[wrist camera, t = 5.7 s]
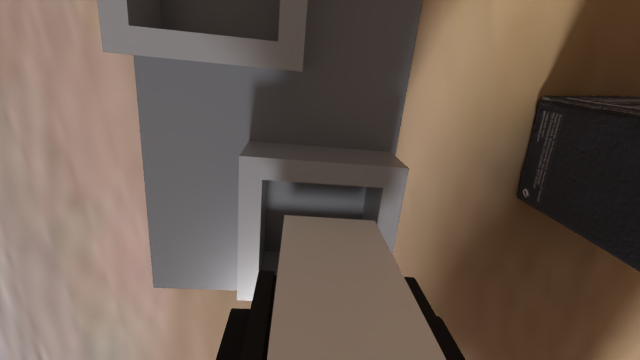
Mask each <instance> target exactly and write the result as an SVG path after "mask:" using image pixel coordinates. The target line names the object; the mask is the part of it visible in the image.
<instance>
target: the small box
mask: <svg viewBox="0 0 640 360" xmlns="http://www.w3.org/2000/svg"><path fill="white" fill-rule="evenodd" d="M517 197H518V199H520V200H522V201H524V202H525V203H527V204H529V205H530V206H532V207H534V208H535V209H537V210H539V211H541V212H542V213H544V214H546V215H547V216H549V217H551V218H552V219H554V220H556V221H557V222H559V223H561V224H562V225H564V226H566V227H567V228H569V229H570V230H572V231H574V232H576V233H577V234H579V235H581V236H582V237H584V238H585V239H587V240H589V241H590V242H592V243H594V244H596V245H597V246H599V247H600V248H602V249H604V250H605V251H607V252H609V253H610V254H612V255H613V256H615V257H617V258H618V259H620V260H622V261H623V262H625V263H627V264H628V265H630V266H631V267H633V268H635V269H636V270H638V271H640V97H620V96H543V97H542V98H541V99H540V102H539V106H538V108H537V113H536V120H535V124H534V128H533V133H532V137H531V141H530V145H529V149H528V153H527V157H526V161H525V165H524V169H523V170H522V175H521V181H520V185H519V190H518V196H517Z"/></svg>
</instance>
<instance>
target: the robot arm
mask: <svg viewBox="0 0 640 360" xmlns="http://www.w3.org/2000/svg"><path fill="white" fill-rule="evenodd" d="M274 272H275V271H268V270H259V272H258V277H257V281H256V286H255V291H254V295H253V300H252V304H251V309H235V308H232V309H231V312H230V315H229V318H228V321H227V324H226V328H225V331H224V334H223V338H222V341H221V344H220V348H219V351H218V354H217V358H216V360H267V355H268V347H269V338H270V330H271V322H272V314H273V305H274V297H275V289H276V281H277V275H274ZM404 278H405V280H406V282H407V284H408V286H409V288H410V290H411V292H412V294H413V296H414V298H415V300H416V302H417V304H418V305H419V307H420V309H421V311H422V313H423V315H424V317H425V319H426V321H427V323H428V325H429V327H430V329H431V331H432V333H433V335H434V337H435V339H436V341H437V342H438V344H439V346H440V348H441V350H442V352H443V354H444V356H445V358H446V360H465V358H464V356H463V355H462V353H461V351H460V350H459V348H458V346H457V344H456V343H455V341H454V339H453V337H452V336H451V334H450V332H449V331H448V329H447V327H446V325H445V324H444V322H443V320H442V319H441V318H440V317H438V316H436V315H435V313H434V311H433V310H432V308H431V306H430V304H429V302H428V301H427V299H426V297H425V295H424V294H423V292H422V290H421V288H420V286H419V285H418V283H417V281H416V279H415V278H413V277H404Z"/></svg>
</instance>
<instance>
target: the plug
mask: <svg viewBox="0 0 640 360" xmlns="http://www.w3.org/2000/svg"><path fill="white" fill-rule="evenodd" d="M267 360H446V358H445V356H444V354H443V352H442V350H441V348H440V346H439V344H438V342H437V341H436V339H435V337H434V335H433V333H432V331H431V329H430V327H429V325H428V323H427V321H426V319H425V317H424V315H423V313H422V311H421V309H420V307H419V305H418V304H417V302H416V300H415V298H414V296H413V294H412V292H411V290H410V288H409V286H408V284H407V282H406V280H405V278H404V276H403V274H402V272H401V270H400V268H399V267H398V265H397V263H396V261H395V259H394V257H393V255H392V253H391V251H390V249H389V247H388V245H387V243H386V241H385V239H384V237H383V235H382V233H381V231H380V229H379V228H378V226H377V224H376V222H375V221H372V220H356V219H340V218H324V217H308V216H292V215H284V223H283V231H282V239H281V248H280V256H279V264H278V272H277V281H276V289H275V297H274V305H273V314H272V322H271V330H270V338H269V347H268V355H267Z"/></svg>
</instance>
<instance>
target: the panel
mask: <svg viewBox="0 0 640 360" xmlns="http://www.w3.org/2000/svg"><path fill="white" fill-rule="evenodd" d="M97 4H98V12H99V21H100V30H101V38H102V47H103V52H108V53H118V54H128V55H134V66H135V77H136V89H137V100H138V112H139V123H140V135H141V146H142V158H143V170H144V181H145V193H146V204H147V216H148V227H149V239H150V250H151V262H152V273H153V285H154V288H180V289H209V290H237V300H248V301H252V300H253V295H254V291H255V286H256V281H257V277H258V272H259V270H268V271H275V272H274V275H277V272H278V264H279V256H280V248H281V239H282V231H283V223H284V215H292V216H308V217H324V218H340V219H356V220H372V221H375V222H376V224H377V226H378V228H379V229H380V231H381V233H382V235H383V237H384V239H385V241H386V243H387V245H388V247H389V249H390V251H391V253H393V248H394V243H395V238H396V232H397V227H398V222H399V217H400V212H401V206H402V201H403V196H404V191H405V186H406V180H407V175H408V170H409V168H408V167H407V166H406V165H405V164H403V163H402V162H401V161H400V160H399V159H398V158H397V157H396V156H395V154H396V148H397V143H398V137H399V131H400V125H401V120H402V114H403V108H404V103H405V97H406V91H407V86H408V80H409V74H410V69H411V63H412V57H413V52H414V46H415V40H416V35H417V29H418V23H419V17H420V12H421V6H422V0H97Z"/></svg>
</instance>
